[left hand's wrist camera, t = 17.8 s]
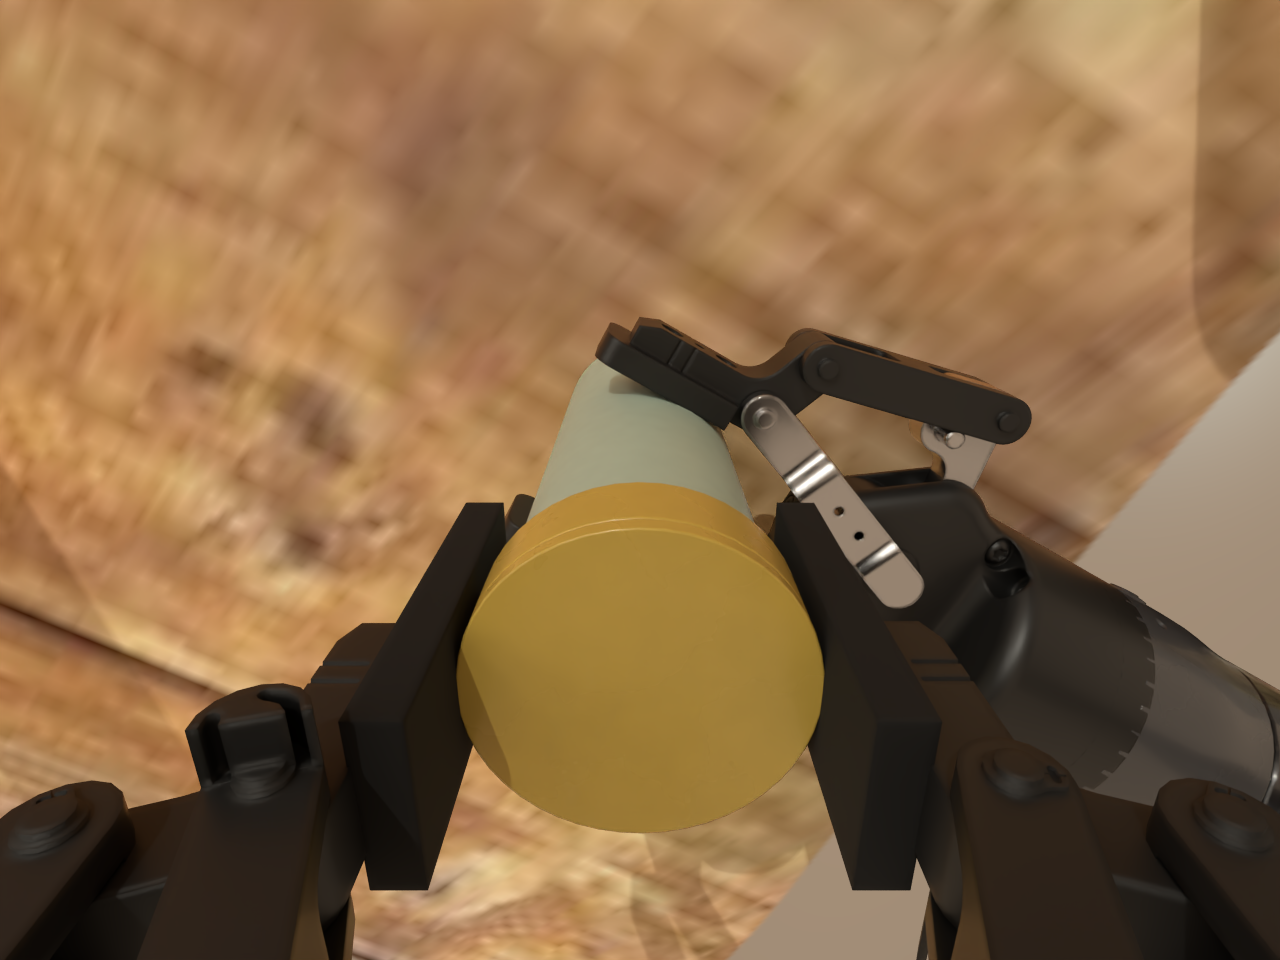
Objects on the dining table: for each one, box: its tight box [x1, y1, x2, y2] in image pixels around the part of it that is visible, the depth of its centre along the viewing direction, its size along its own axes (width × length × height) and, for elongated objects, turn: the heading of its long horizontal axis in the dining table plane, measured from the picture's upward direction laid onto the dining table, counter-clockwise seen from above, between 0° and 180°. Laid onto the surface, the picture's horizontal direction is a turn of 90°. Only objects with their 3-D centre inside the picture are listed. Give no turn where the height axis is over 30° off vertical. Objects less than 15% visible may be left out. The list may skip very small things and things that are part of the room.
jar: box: [526, 359, 754, 523], centre depth 18 cm, size 5×5×15 cm
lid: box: [456, 482, 824, 833], centre depth 12 cm, size 6×6×2 cm
